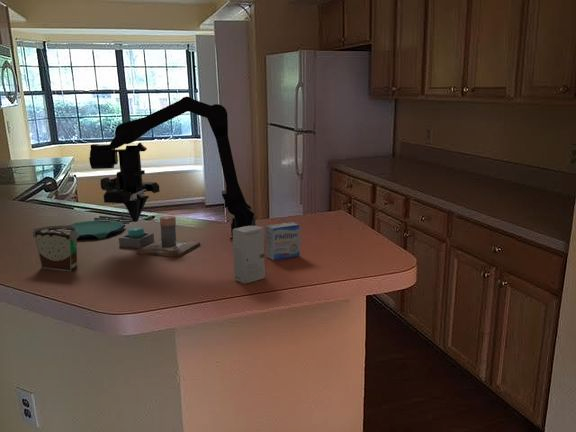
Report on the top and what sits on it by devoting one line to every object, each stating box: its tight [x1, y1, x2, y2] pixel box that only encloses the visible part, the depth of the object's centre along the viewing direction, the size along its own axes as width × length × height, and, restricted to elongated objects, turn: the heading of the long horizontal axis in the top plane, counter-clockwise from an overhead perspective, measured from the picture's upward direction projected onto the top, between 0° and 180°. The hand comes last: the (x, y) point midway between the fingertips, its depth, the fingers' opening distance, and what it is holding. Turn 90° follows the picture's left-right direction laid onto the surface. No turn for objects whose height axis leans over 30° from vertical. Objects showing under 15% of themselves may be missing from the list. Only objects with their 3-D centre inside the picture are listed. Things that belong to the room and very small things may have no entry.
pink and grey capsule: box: [159, 215, 177, 248], centre depth 137 cm, size 4×4×8 cm
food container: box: [32, 224, 80, 272], centre depth 124 cm, size 12×6×10 cm, turn 71°
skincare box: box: [232, 225, 266, 285], centre depth 113 cm, size 6×4×12 cm
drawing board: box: [136, 238, 201, 258], centre depth 138 cm, size 13×12×1 cm
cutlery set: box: [69, 215, 133, 240], centre depth 163 cm, size 20×30×2 cm, turn 171°
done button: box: [127, 227, 145, 238], centre depth 143 cm, size 4×4×2 cm
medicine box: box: [265, 221, 301, 262], centre depth 129 cm, size 8×4×9 cm, turn 117°
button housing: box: [118, 231, 155, 249], centre depth 144 cm, size 7×7×3 cm
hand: (135, 221), depth 142 cm, fingers closed
